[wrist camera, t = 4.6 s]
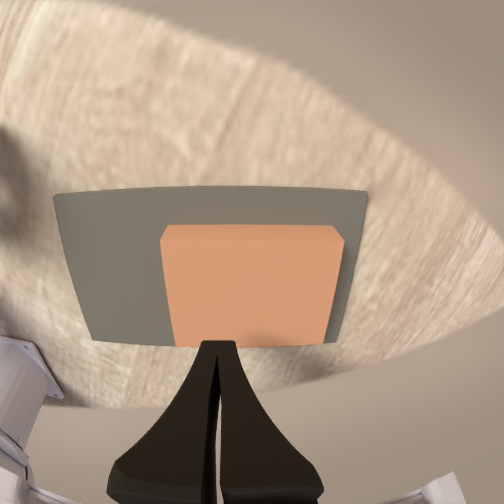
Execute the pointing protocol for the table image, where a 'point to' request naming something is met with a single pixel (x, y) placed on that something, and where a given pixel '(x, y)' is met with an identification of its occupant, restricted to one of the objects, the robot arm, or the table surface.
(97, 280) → the mat
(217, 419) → the robot arm
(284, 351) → the table surface
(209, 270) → the tile
